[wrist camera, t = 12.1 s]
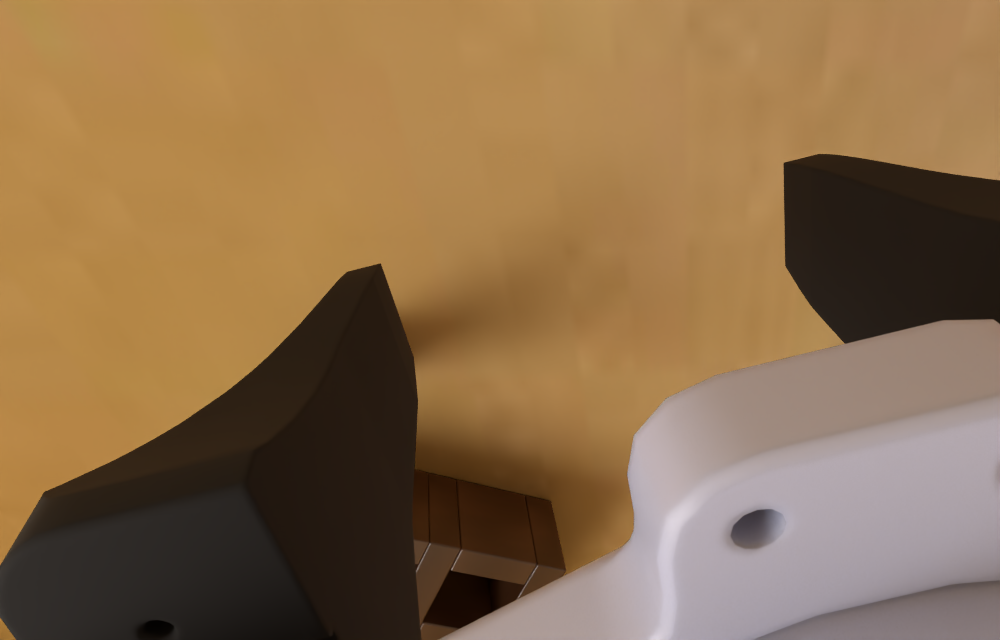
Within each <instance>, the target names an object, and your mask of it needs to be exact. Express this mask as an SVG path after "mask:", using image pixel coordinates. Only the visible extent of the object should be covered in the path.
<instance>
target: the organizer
mask: <svg viewBox="0 0 1000 640" xmlns="http://www.w3.org/2000/svg"><path fill="white" fill-rule="evenodd" d="M413 537H414V553H415V569H416V581H417V594H418V606H419V618H420V629H421V639H422V640H439V639H441V638H443V637H444V636H446V635H448V634H450V633H452V632H454V631H456V630H458V629H460V628H462V627H464V626H466V625H468V624H470V623H472V622H474V621H476V620H478V619H480V618H482V617H484V616H486V615H488V614H490V613H492V612H494V611H496V610H498V609H500V608H502V607H504V606H506V605H507V604H509V603H511V602H513V601H515V600H517V599H519V598H521V597H523V596H525V595H527V594H529V593H531V592H533V591H535V590H537V589H539V588H541V587H543V586H545V585H547V584H549V583H551V582H553V581H555V580H557V579H559V578H561V577H563V575H564V573H565V572H566V567H565V563H564V558H563V554H562V549H561V545H560V540H559V535H558V531H557V526H556V522H555V517H554V513H553V508H552V504H551V501H547V500H543V499H539V498H534V497H530V496H524V495H521V494H516V493H512V492H508V491H504V490H499V489H495V488H491V487H486V486H482V485H478V484H473V483H469V482H465V481H460V480H457V481H456V480H455V479H452V478H447V477H443V476H439V475H434V474H430V473H429V474H428V473H427V472H423V471H418V470H414V485H413Z"/></svg>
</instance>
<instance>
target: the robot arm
mask: <svg viewBox="0 0 1000 640" xmlns="http://www.w3.org/2000/svg"><path fill="white" fill-rule="evenodd" d="M784 212H785V266H786V268H787V269H788V271H789V273H790V274H791V276H792V277H793V279H794V281H795V282H796V284H797V286H798V287H799V289H800V290H801V292H802V293H803V295H804V296H805V298H806V299H807V301H808V302H809V304H810V305H811V306H812V308H813V309H814V310H815V311H816V312H817V313H818V314H819V316H820V317H821V318H822V319H823V320H824V321H825V322H826V323H827V324H828V326H829V327H830V328H831V329H832V330H833V331H834V332H835V333H836V334H837V336H838V337H839V338H840V339H841V340H842V341H843V342H844V343H845V344H843V345H838V346H834V347H830V348H826V349H822V350H818V351H814V352H809V353H805V354H801V355H797V356H793V357H789V358H785V359H780V360H776V361H772V362H768V363H764V364H760V365H756V366H751V367H747V368H743V369H739V370H735V371H731V372H727V373H722V374H718V375H715V376H713V377H711V378H709V379H706V380H704V381H702V382H700V383H698V384H696V385H694V386H691V387H689V388H687V389H685V390H683V391H681V392H678V393H676V394H674V395H672V396H670V397H668V398H666V399H665V400H664V401H663V402H662V404H661V405H660V406H659V407H658V408H657V409H656V410H655V412H654V413H653V414H652V415H651V416H650V417H649V418H648V420H647V421H646V422H645V423H644V424H643V425H642V426H641V428H640V429H639V430H638V431H637V432H636V433H635V434H634V437H633V443H632V449H631V455H630V461H629V466H628V472H627V476H628V482H629V487H630V493H631V498H632V504H633V510H634V530H633V533H632V536H631V538H630V539H629V540H628V541H627V542H626V543H625V544H624V545H623V546H622V547H620V548H618V549H616V550H614V551H612V552H610V553H608V554H606V555H604V556H602V557H600V558H598V559H596V560H594V561H592V562H590V563H588V564H586V565H584V566H582V567H580V568H578V569H576V570H574V571H572V572H570V573H569V574H567V575H565V576H563V577H561V578H559V579H557V580H555V581H553V582H551V583H549V584H547V585H545V586H543V587H541V588H539V589H537V590H535V591H533V592H531V593H529V594H527V595H525V596H523V597H521V598H519V599H517V600H515V601H513V602H511V603H509V604H507V605H506V606H504V607H502V608H500V609H498V610H496V611H494V612H492V613H490V614H488V615H486V616H484V617H482V618H480V619H478V620H476V621H474V622H472V623H470V624H468V625H466V626H464V627H462V628H460V629H458V630H456V631H454V632H452V633H450V634H448V635H446V636H444V637H443V638H441V639H439V640H1000V181H999V180H991V179H984V178H976V177H969V176H961V175H954V174H948V173H942V172H935V171H929V170H924V169H918V168H912V167H907V166H901V165H896V164H890V163H885V162H879V161H874V160H868V159H862V158H856V157H849V156H842V155H831V154H817V155H813V156H809V157H805V158H801V159H797V160H793V161H789V162H785V163H784ZM417 411H418V397H417V385H416V375H415V366H414V357H413V354H412V351H411V348H410V345H409V343H408V340H407V337H406V334H405V331H404V328H403V326H402V323H401V320H400V317H399V314H398V311H397V309H396V306H395V303H394V300H393V297H392V294H391V291H390V289H389V286H388V283H387V280H386V277H385V274H384V272H383V269H382V266H381V264H377V265H373V266H369V267H365V268H361V269H357V270H353V271H349V272H347V273H345V274H344V275H343V276H342V277H341V278H340V279H339V280H338V281H337V282H336V283H335V285H334V286H333V287H332V288H331V289H330V290H329V291H328V293H327V294H326V295H325V296H324V297H323V298H322V300H321V301H320V302H319V303H318V304H317V305H316V306H315V308H314V309H313V310H312V311H311V312H310V313H309V314H308V316H307V317H306V318H305V319H304V320H303V321H302V322H301V324H300V325H299V326H298V327H297V328H296V329H295V330H294V331H293V332H292V333H291V334H290V335H289V336H288V337H287V338H286V339H285V340H284V341H283V342H282V343H281V344H280V345H279V346H278V347H277V348H276V349H275V350H274V351H273V352H272V353H271V354H270V355H269V356H268V357H267V358H266V359H265V360H264V361H263V362H262V363H261V364H260V365H258V366H257V367H256V368H255V369H254V370H253V371H252V372H250V373H249V374H248V375H247V376H245V377H244V378H243V379H242V380H241V381H239V382H238V383H237V384H236V385H234V386H233V387H232V388H231V389H229V390H228V391H227V392H225V393H224V394H223V395H221V396H220V397H218V398H217V399H215V400H214V401H213V402H211V403H210V404H208V405H207V406H205V407H204V408H202V409H201V410H199V411H198V412H197V413H195V414H194V415H192V416H191V417H189V418H188V419H186V420H185V421H183V422H182V423H180V424H179V425H177V426H175V427H174V428H172V429H170V430H169V431H167V432H165V433H164V434H162V435H160V436H158V437H157V438H155V439H153V440H151V441H150V442H148V443H146V444H144V445H142V446H140V447H139V448H137V449H135V450H133V451H131V452H129V453H128V454H126V455H124V456H122V457H120V458H118V459H116V460H114V461H112V462H110V463H108V464H105V465H103V466H101V467H99V468H97V469H95V470H92V471H90V472H88V473H86V474H84V475H81V476H79V477H77V478H75V479H73V480H71V481H68V482H66V483H64V484H62V485H60V486H57V487H55V488H53V489H50V490H48V491H46V492H44V493H43V495H42V497H41V499H40V500H39V502H38V504H37V505H36V507H35V509H34V510H33V512H32V514H31V515H30V517H29V519H28V520H27V522H26V524H25V525H24V527H23V529H22V530H21V532H20V534H19V535H18V537H17V539H16V540H15V542H14V544H13V545H12V547H11V549H10V550H9V552H8V554H7V555H6V557H5V559H4V560H3V562H2V564H1V565H0V618H1V619H2V620H3V622H4V623H5V625H6V626H7V627H8V629H9V630H10V632H11V633H12V635H13V636H14V637H15V639H16V640H422V639H421V629H420V618H419V606H418V594H417V581H416V569H415V553H414V537H413V485H414V467H415V450H416V432H417Z"/></svg>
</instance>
